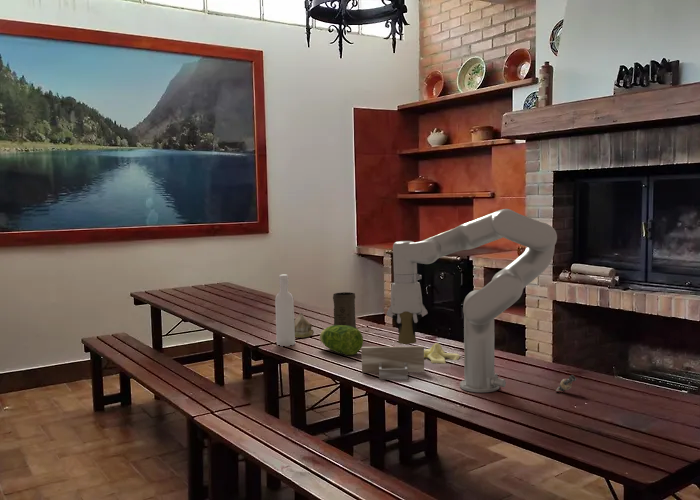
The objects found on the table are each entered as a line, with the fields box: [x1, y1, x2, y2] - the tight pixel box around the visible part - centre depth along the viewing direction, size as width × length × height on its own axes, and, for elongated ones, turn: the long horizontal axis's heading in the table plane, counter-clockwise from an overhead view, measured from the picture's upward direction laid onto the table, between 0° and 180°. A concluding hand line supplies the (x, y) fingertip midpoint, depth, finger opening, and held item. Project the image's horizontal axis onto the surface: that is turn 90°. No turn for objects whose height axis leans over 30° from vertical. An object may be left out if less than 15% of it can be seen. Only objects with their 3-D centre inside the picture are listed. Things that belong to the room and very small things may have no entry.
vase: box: [554, 374, 577, 392], centre depth 201 cm, size 5×5×6 cm
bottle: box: [274, 273, 296, 347], centre depth 274 cm, size 8×8×30 cm
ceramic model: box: [294, 312, 314, 338], centre depth 295 cm, size 14×11×10 cm
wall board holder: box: [361, 345, 425, 380], centre depth 224 cm, size 10×22×9 cm, turn 87°
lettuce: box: [319, 324, 364, 357], centre depth 260 cm, size 12×21×11 cm, turn 43°
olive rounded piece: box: [397, 311, 417, 345], centre depth 212 cm, size 6×6×11 cm
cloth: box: [424, 342, 461, 365], centre depth 248 cm, size 22×19×6 cm
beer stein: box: [332, 291, 357, 328], centre depth 289 cm, size 15×11×20 cm
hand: (407, 333), depth 212 cm, fingers closed on olive rounded piece, 3 cm apart
